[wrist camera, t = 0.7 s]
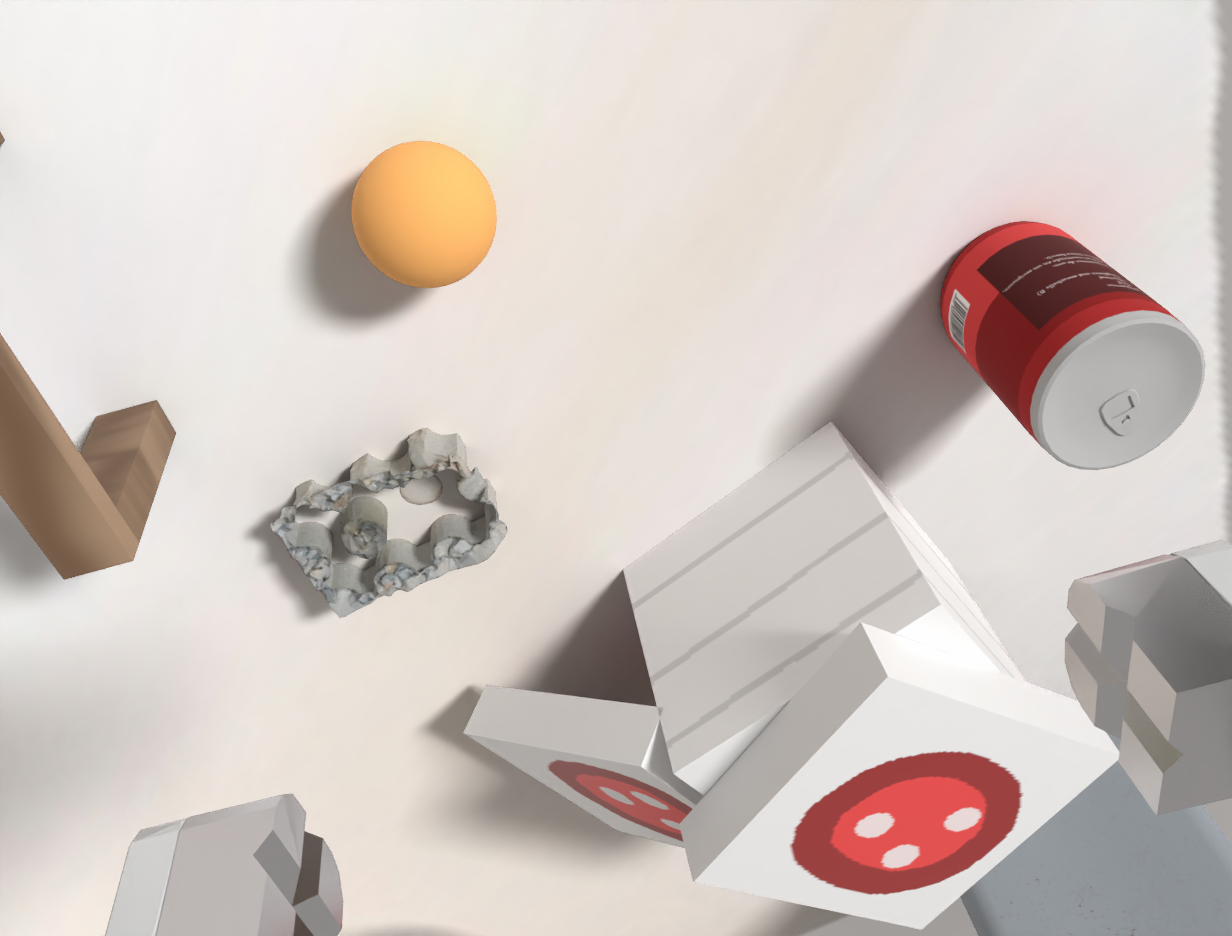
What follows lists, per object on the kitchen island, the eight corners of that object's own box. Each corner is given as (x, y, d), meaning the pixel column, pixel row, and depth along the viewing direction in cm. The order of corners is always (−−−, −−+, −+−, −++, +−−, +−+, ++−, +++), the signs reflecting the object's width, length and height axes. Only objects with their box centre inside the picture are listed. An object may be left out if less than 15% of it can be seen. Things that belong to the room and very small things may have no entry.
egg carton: (454, 408, 53) (457, 453, 50) (512, 511, 58) (518, 559, 54) (266, 484, 54) (257, 533, 51) (338, 580, 58) (334, 631, 55)
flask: (919, 813, 80) (1087, 1174, 60) (907, 781, 78) (1079, 1148, 58) (1135, 732, 79) (1381, 1076, 59) (1130, 696, 76) (1387, 1044, 56)
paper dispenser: (439, 670, 63) (446, 950, 49) (846, 376, 55) (999, 606, 41) (629, 797, 74) (681, 1059, 59) (995, 564, 66) (1160, 802, 51)
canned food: (990, 378, 57) (1095, 498, 48) (903, 298, 53) (1001, 412, 44) (1105, 277, 54) (1239, 385, 46) (1023, 184, 50) (1152, 282, 42)
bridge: (117, 449, 51) (63, 579, 43) (-98, 111, 41) (-218, 202, 33) (176, 433, 51) (133, 560, 43) (-24, 91, 41) (-127, 177, 33)
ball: (334, 142, 44) (324, 193, 39) (469, 105, 44) (476, 152, 39) (382, 267, 48) (378, 328, 43) (507, 233, 48) (518, 291, 43)
